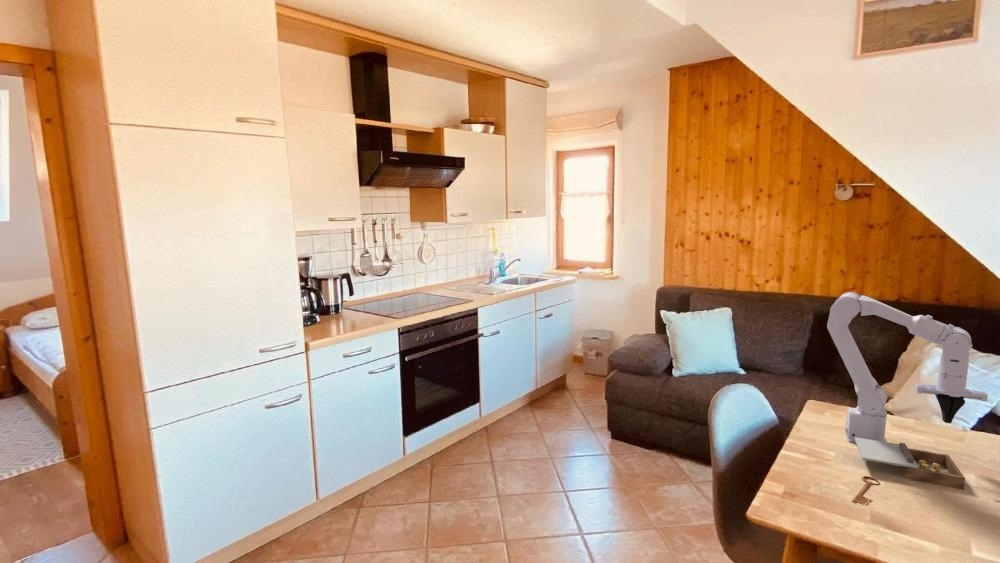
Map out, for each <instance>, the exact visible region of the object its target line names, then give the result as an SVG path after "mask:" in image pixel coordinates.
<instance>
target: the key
mask: <svg viewBox="0 0 1000 563" xmlns="http://www.w3.org/2000/svg"><path fill="white" fill-rule="evenodd" d="M861 479H862V481H863V482H865V484H864V485H863V487H862V488H861V489H860V491H859V492H858V493H857V494H856V495H855V497H854V498H852V500H851V503H854V504H860V505H863V506H864V505H865V506H866V507H868V506H869V505H870V504H871V503H872V502H874V500H873V499H869V498H868V497H865V496H863V495H864V494H865V493H866V491H867V490H868V489H870V486H880V485H881V483H880V481H879V480H877V479H875V478H874V477H871V476H866V475H864V476H862V477H861ZM868 479H870V480H868ZM871 480H872V481H874V482H872V481H871ZM875 482H876V483H875Z"/></svg>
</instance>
